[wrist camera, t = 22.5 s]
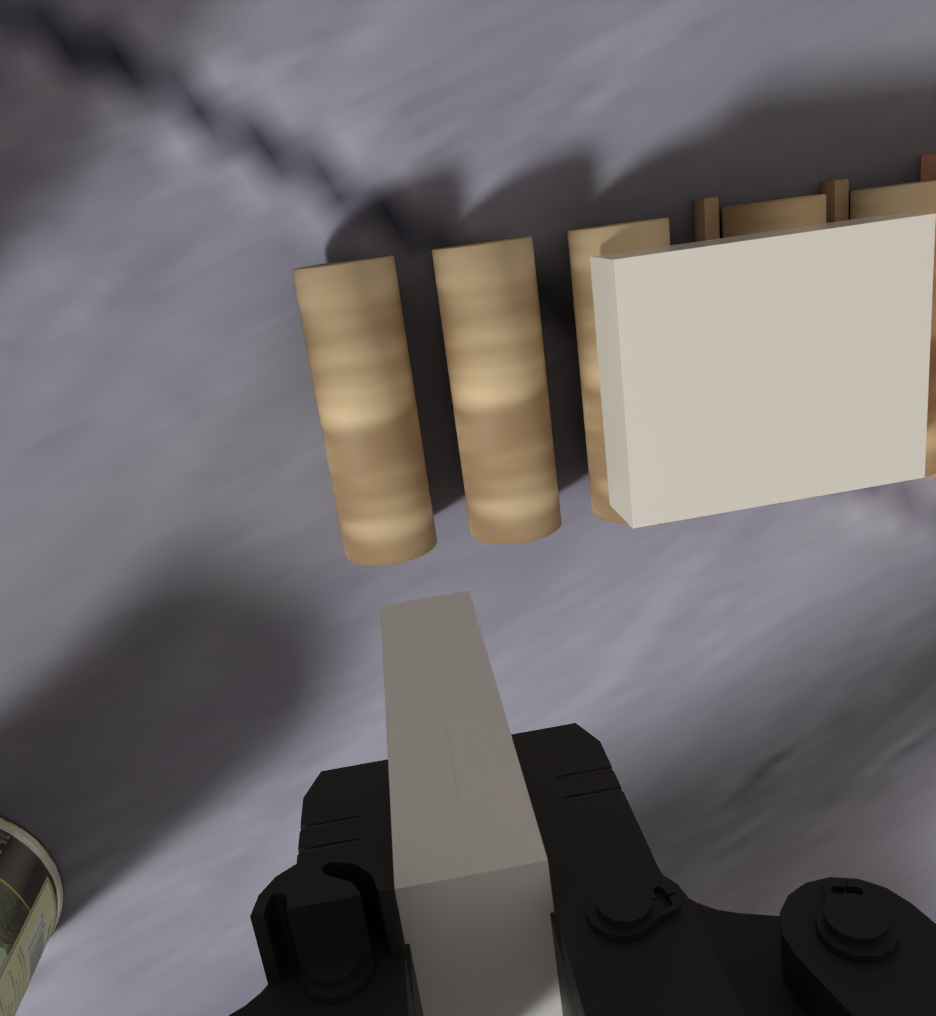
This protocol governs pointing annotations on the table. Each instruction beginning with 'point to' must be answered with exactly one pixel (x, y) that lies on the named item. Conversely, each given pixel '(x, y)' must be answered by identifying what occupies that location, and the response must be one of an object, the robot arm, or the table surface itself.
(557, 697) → the table surface
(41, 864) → the coffee can
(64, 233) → the table surface
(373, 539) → the roller bed
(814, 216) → the roller
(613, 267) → the slab
